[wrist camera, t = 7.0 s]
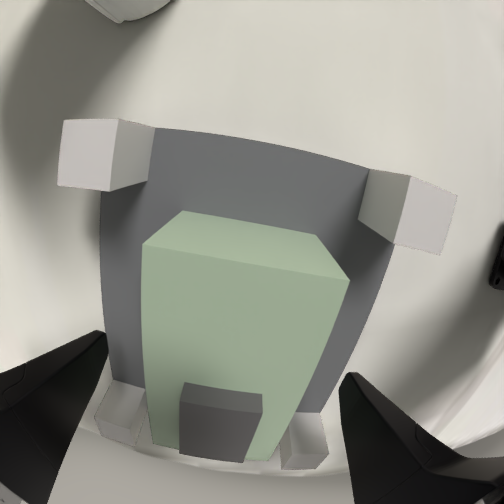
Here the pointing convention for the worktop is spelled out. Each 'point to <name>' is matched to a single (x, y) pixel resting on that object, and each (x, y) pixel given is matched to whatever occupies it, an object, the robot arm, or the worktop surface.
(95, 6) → the photo printer
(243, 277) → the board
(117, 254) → the chassis
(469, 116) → the worktop surface
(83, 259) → the worktop surface
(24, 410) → the robot arm
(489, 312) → the worktop surface
